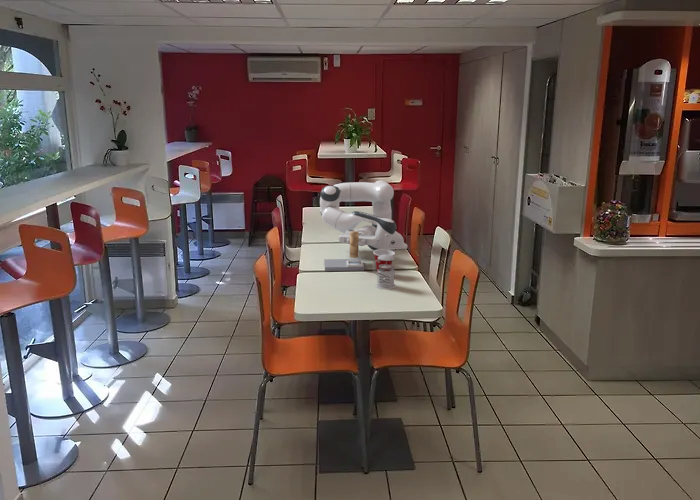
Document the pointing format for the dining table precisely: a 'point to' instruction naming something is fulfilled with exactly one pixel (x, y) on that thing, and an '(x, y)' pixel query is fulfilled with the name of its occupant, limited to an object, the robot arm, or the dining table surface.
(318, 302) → the dining table surface
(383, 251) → the plastic cup
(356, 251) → the oak column
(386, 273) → the french press
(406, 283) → the dining table surface
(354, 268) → the board
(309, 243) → the dining table surface
